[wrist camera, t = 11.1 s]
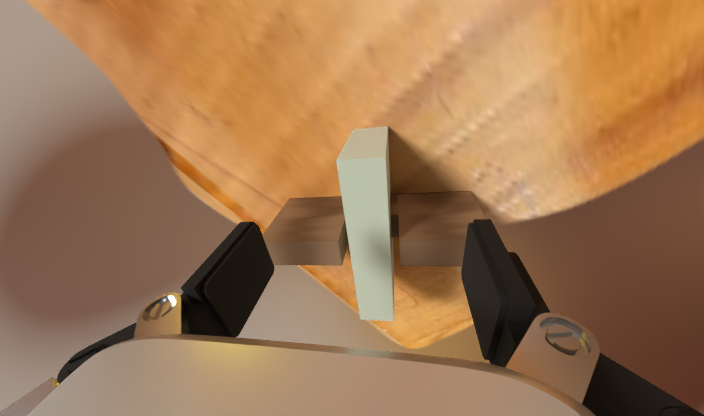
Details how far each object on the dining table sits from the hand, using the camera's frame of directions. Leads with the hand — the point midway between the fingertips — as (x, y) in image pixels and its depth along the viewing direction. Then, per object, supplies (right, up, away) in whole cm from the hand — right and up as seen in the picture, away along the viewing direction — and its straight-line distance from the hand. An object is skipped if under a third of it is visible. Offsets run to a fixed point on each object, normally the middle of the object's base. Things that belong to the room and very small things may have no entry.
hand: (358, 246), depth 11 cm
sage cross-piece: (+2, +2, +14) cm, 15 cm away
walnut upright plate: (+2, +2, +14) cm, 15 cm away
